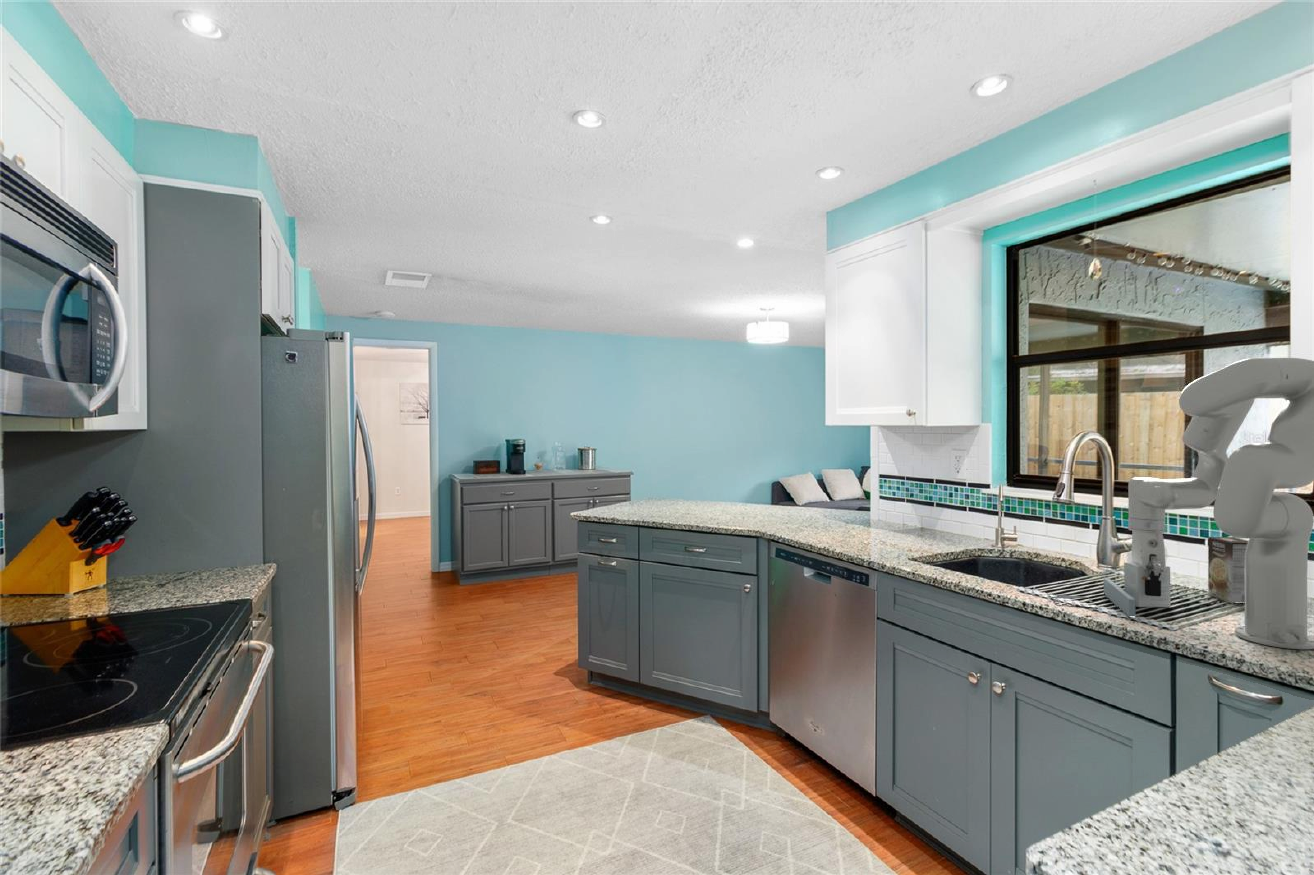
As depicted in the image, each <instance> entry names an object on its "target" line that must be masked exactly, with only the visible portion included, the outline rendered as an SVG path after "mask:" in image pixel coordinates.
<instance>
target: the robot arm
mask: <svg viewBox="0 0 1314 875" xmlns="http://www.w3.org/2000/svg"><path fill="white" fill-rule="evenodd" d="M1256 399H1283V400H1285V401H1286V402H1285V403H1284V405H1283V406H1282V407H1281V408H1280V410H1279V411H1278V412H1277V414H1276V415H1275V416H1274V418H1273V420H1272V423H1271V426H1270V431H1269V433H1268V437H1267V439H1266V441H1265V443H1264V442H1263V443H1262V442H1261V443H1251V444H1250V443H1249V444H1245V445H1243V446H1240V447H1239V448H1237V449H1236V450H1234V451H1233V452H1232V453H1231V454H1230V455H1229V457H1228V453H1227V450H1228V449H1229V446H1230V445H1231V443H1232V441H1233V440H1234V438H1235V436H1236V434H1237V433H1238V432H1239V429H1240V427H1241V426H1242V424H1243V423H1244V420H1245V419H1246V417H1247V415H1248V414H1249V412H1250V410H1251V408H1252V407H1253V405H1254V403H1255V400H1256ZM1178 405H1179V408H1180V410H1182V412H1183V413H1184V414H1185V415H1188V416H1190V417H1191V420H1190V422H1189V424H1188V425H1187V427H1186V429H1185V431H1184V432H1183V435H1182V436H1181V440H1182V442H1183V443H1184V445H1186V446H1187V447H1188V448H1190V449H1192V450H1194V451H1196V452H1197V455H1198V462H1197V465H1196V467H1195V469H1194V471H1193V472H1192V475H1191V476H1190V478H1188V477H1187V478H1165V479H1164V478H1163V479H1161V478H1158V477H1146V476H1145V477H1144V476H1141V477H1140V476H1139V477H1132V478H1130V479H1129V481H1128V491H1127V492H1128V511H1127V512H1128V519H1127V520H1128V523H1127V524H1128V530H1129V531H1132V532H1131V533H1132V535H1131V562H1135V563H1137V564H1138V565H1140V566H1141V569H1142V570H1144V571H1145V575H1146V579H1145V595H1147V596H1159V597H1160V596H1161V576H1160V575H1161V573H1160V570H1161V572H1164V571H1165V570H1166V567H1165V565H1166V552H1165V551H1166V550H1165V540H1164V535H1163V534H1164V533H1166V511H1170V510H1173V511H1174V510H1175V511H1176V510H1190V509H1191V510H1197V509H1203V508H1207V507H1208V506H1210V505H1211V504H1212V503H1213V513H1212V514H1213V520H1214V522H1215V524H1216V526H1217V528H1218V529H1219V530H1220V531H1221V532H1222V533H1224V534H1225V535H1227V536H1228V537H1235V538H1239V539H1248V540H1247V541H1248V543H1247V546H1246V550H1245V568H1244V579H1245V604H1244V625H1241V626H1237V627H1235V628H1234V633H1235V635H1236V636H1237V637H1239V638H1241V639H1243V640H1246V641H1248V642H1252V643H1257V644H1259V645H1265V646H1269V647H1275V648H1283V649H1288V650H1289V649H1290V650H1314V637H1312V636H1309V635H1308V562H1309V560H1308V559H1309V558H1308V556H1309V555H1308V554H1309V544H1310V539H1311V535H1312V531H1313V528H1314V512H1313V510H1312V508H1311V506H1310V505H1309V504H1308V503H1307V501H1306V500H1304V499H1303V498H1302V497H1299V496H1298V495H1295V494H1291V493H1288V492H1283V491H1282V492H1281V491H1275V490H1279V489H1280V490H1281V489H1283V490H1285V489H1298V488H1303V487H1306V486H1308V485H1311V484H1312V483H1314V360H1312V359H1311V360H1310V359H1307V358H1299V357H1251V358H1246V359H1242V360H1238V361H1235V362H1233V363H1231V364H1229V365H1227V366H1224V367H1222V368H1220V369H1218V370H1216V371H1215V370H1214V372H1211V373H1208V374H1206V375H1204V376H1201V377H1199V378H1197V379H1195V380H1194V381H1192V382H1190V383H1189V384H1188V385H1186V386H1185V387H1184V389H1183V390H1182V391H1181V393H1180V395H1179V398H1178ZM1147 567H1150V568H1147ZM1149 572H1151V573H1150V574H1149Z"/></svg>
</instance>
